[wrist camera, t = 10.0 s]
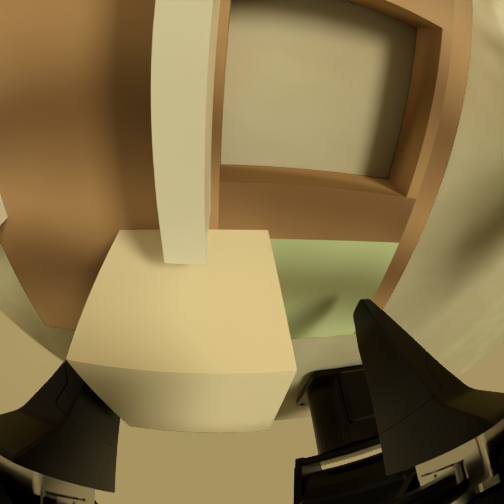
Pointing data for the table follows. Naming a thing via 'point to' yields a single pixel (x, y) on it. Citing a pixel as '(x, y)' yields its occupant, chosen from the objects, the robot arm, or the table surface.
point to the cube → (187, 335)
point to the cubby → (182, 124)
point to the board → (222, 176)
